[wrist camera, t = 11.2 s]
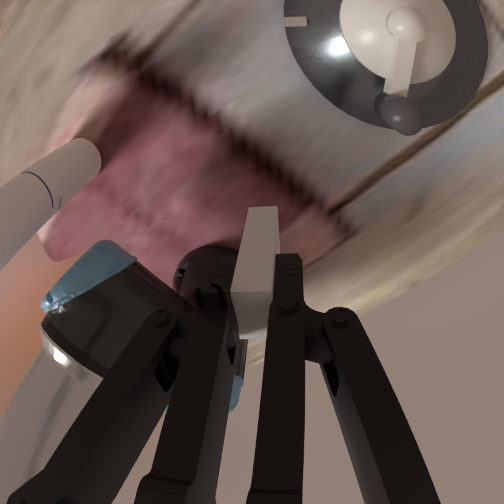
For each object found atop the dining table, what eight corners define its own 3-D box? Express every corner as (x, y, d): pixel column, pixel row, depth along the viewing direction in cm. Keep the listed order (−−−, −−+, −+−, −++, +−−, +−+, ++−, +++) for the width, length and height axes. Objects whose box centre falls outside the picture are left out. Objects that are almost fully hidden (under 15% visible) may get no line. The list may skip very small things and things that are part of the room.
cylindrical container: (100, 138, 40) (-26, 233, 19) (103, 182, 44) (-1, 293, 24) (62, 137, 40) (-60, 224, 19) (67, 179, 44) (-38, 278, 24)
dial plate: (476, 133, 33) (484, 138, 31) (293, 125, 37) (293, 129, 35) (470, -39, 18) (478, -42, 17) (272, -66, 22) (271, -72, 20)
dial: (344, -41, 22) (359, -61, 16) (456, -3, 21) (489, -8, 15) (325, 105, 33) (335, 119, 27) (432, 132, 33) (461, 152, 26)
